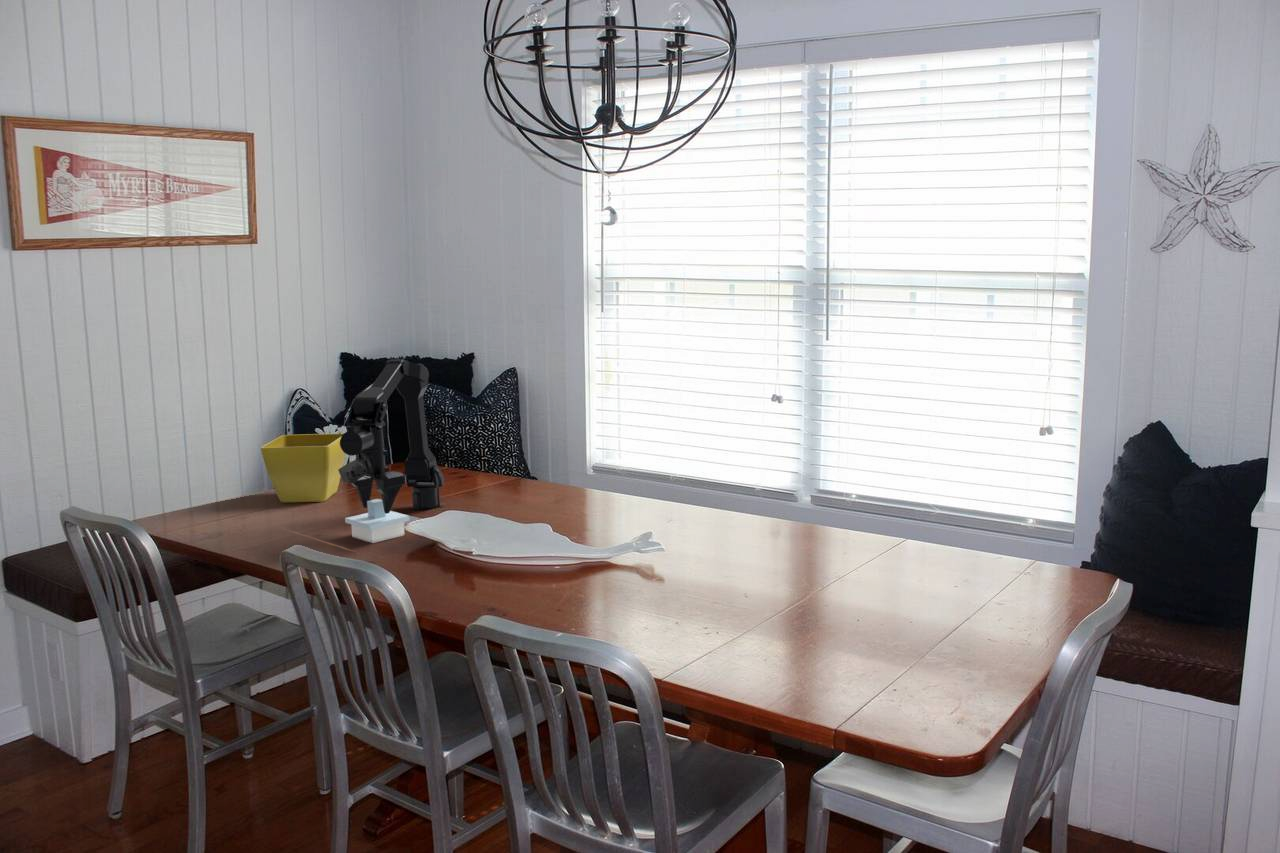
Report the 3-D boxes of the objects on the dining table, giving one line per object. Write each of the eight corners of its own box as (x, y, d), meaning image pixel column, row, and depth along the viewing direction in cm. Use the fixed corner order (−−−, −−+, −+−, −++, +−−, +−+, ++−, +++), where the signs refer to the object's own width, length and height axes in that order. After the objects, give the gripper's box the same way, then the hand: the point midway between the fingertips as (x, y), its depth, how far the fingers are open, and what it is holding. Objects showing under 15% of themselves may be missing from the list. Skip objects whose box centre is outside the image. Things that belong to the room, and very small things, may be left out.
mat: (397, 513, 290) (397, 512, 289) (426, 521, 281) (426, 519, 281) (354, 523, 280) (354, 522, 280) (382, 532, 271) (382, 530, 271)
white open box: (384, 530, 273) (382, 515, 272) (404, 536, 267) (403, 520, 266) (352, 538, 266) (351, 522, 266) (372, 544, 260) (371, 528, 260)
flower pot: (332, 504, 302) (327, 445, 300) (264, 506, 303) (259, 447, 300) (351, 489, 321) (347, 433, 318) (287, 490, 322) (282, 434, 319)
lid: (383, 513, 273) (382, 493, 273) (409, 520, 266) (407, 499, 265) (345, 522, 266) (343, 501, 265) (370, 529, 258) (368, 508, 257)
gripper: (321, 448, 263) (326, 511, 266) (364, 457, 251) (369, 523, 253) (361, 441, 271) (366, 502, 274) (404, 449, 259) (409, 513, 261)
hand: (376, 510), depth 265 cm, fingers open, 9 cm apart
